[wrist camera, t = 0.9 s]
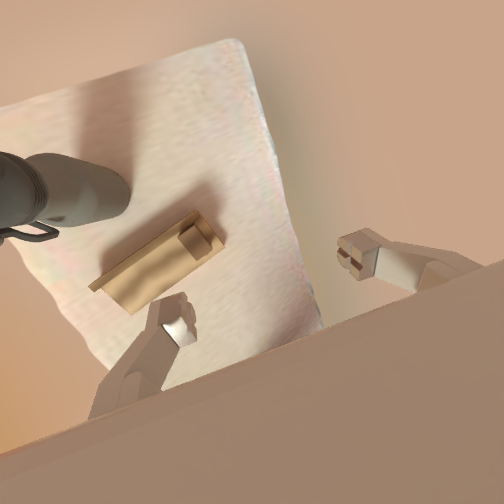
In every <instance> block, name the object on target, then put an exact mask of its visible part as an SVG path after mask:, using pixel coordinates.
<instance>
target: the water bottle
mask: <svg viewBox="0 0 504 504" xmlns="http://www.w3.org/2000/svg"><path fill="white" fill-rule="evenodd" d="M129 201H130V192H129V189H128V186H127V184H126V183H125V181H124V180H123V179H122V177H120V176H119V175H118V174H117V173H115V172H114V171H112V170H110V169H107V168H104V167H101V166H98V165H95V164H91V163H88V162H85V161H82V160H78V159H75V158H72V157H68V156H65V155H60V154H55V153H42V154H36V155H33V156H30V157H28V158H26V159H25V160H24V159H23V158H21V157H18V156H16V155H13V154H10V153H5V152H0V246H1V245H2V244H3V242H4V238H8V237H16V238H18V239H21V240H24V241H29V242H42V241H46V240H49V239H53V238H56V237H58V235H59V231H58V230H57V229H55V228H53V227H50V226H47V225H45V224H48V225H52V226H57V227H75V226H80V225H85V224H89V223H93V222H97V221H101V220H105V219H110V218H114V217H116V216H119V215H120V214H122V213H123V212H124V211H125V210H126V208H127V207H128V205H129ZM37 220H39V221H41V222H43V223H45V224H42V223H40V222H37ZM26 224H28V225H31V226H33V227H36V228H39V229H41V230H44V231H46V232H48V233H44V234H39V235H35V234H28V233H24V232H20V231H18V230H15V229H12V228H10V227H13V226H19V225H26Z"/></svg>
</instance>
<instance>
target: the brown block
mask: <svg viewBox="0 0 504 504" xmlns="http://www.w3.org/2000/svg"><path fill="white" fill-rule="evenodd" d="M177 238H178V240H179V241H180V242H181V243H182V244H183V246H184V247H185V248H186V249H187V250H188V252H189V253H190V254H191V255H192V256H193V258H194V259H195V260H196V261H198V260H199V259H201V258H202V257H204V256H205V255H208V253H209V252H210V251H212V250H213V248H212V245H211V243H210V242H209V241H208V239H207V238H206V237H205V235H204V234H203V233H202V232H201V230H200V229H199V228H198V226H197V225H196V224H195V223H194V224H192V225H191V226H190V227H188V228H187V229H185V230H184V231H183V232H181V233H180V234H179V236H178V237H177Z"/></svg>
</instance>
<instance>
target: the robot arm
mask: <svg viewBox="0 0 504 504" xmlns="http://www.w3.org/2000/svg"><path fill="white" fill-rule="evenodd" d="M338 245H339V246H340V248H339V250H338V251H337V257H338V260H339V262H340V264H341V265H342V266H343V267H344V268H347V269H350V274H351V275H352V276H353V277H354V278H355V279H357V280H358V281H361V280H364V279H367V278H370V277H373V276H374V277H376V278H378V279H381V280H383V281H386V282H388V283H391V284H393V285H396V286H398V287H401V288H403V289H406V290H408V291H411V292H413V293H415V294H413V295H410V296H408V297H405V298H403V299H400V300H398V301H395V302H392V303H390V304H387V305H385V306H382V307H380V308H377V309H374V310H372V311H369V312H367V313H364V314H362V315H359V316H356V317H354V318H352V319H349V320H346V321H344V322H341V323H338V324H336V325H334V326H331V327H328V328H325V329H323V330H320V331H318V332H315V333H312V334H310V335H307V336H305V337H302V338H300V339H297V340H294V341H292V342H289V343H287V344H284V345H282V346H279V347H276V348H274V349H271V350H269V351H266V352H263V353H261V354H258V355H256V356H253V357H250V358H248V359H245V360H243V361H240V362H238V363H235V364H232V365H230V366H227V367H225V368H222V369H219V370H217V371H214V372H212V373H209V374H206V375H204V376H201V377H199V378H196V379H194V380H191V381H188V382H186V383H183V384H181V385H178V386H176V387H173V388H170V389H168V390H165V391H162V390H161V387H162V385H163V383H164V381H165V379H166V376H167V374H168V372H169V370H170V368H171V366H172V364H173V362H174V360H175V358H176V356H177V354H178V352H179V348H181V347H184V346H186V345H189V344H191V343H194V342H196V341H197V329H196V327H195V326H194V324H195V322H196V315H195V311H194V308H193V306H192V304H191V303H189V302H187V296H186V294H185V293H184V292H180V293H177V294H174V295H171V296H168V297H165V298H162V299H159V300H156V301H153V302H151V304H150V307H149V312H148V317H147V322H146V327H145V331H142V332H141V333H140V334H139V336H138V337H137V338H136V339H135V341H134V342H133V343H132V344H131V346H130V347H129V348H128V349H127V351H126V352H125V353H124V354H123V356H122V357H121V358H120V359H119V361H118V362H117V363H116V364H115V366H114V367H113V368H112V369H111V370H110V372H109V373H108V374H107V375H106V377H105V378H104V379H103V381H102V382H101V383H100V384H99V387H98V390H97V393H96V396H95V399H94V402H93V405H92V409H91V411H90V414H89V417H88V420H87V421H85V422H83V423H80V424H78V425H75V426H73V427H70V428H67V429H65V430H62V431H60V432H57V433H55V434H52V435H49V436H46V437H44V438H41V439H39V440H36V441H34V442H31V443H29V444H26V445H23V446H21V447H18V448H16V449H13V450H10V451H8V452H5V453H2V454H0V504H504V259H503V260H501V261H498V262H496V263H493V264H491V265H488V266H485V267H484V266H482V265H480V264H478V263H476V262H474V261H472V260H470V259H468V258H466V257H464V256H462V255H460V254H458V253H456V252H452V251H446V250H441V249H435V248H429V247H424V246H418V245H412V244H406V243H400V242H390V241H388V240H387V239H385V238H384V237H382V236H380V235H379V234H377V233H375V232H374V231H372V230H370V229H368V228H364V229H362V230H359V231H357V232H354V233H351V234H349V235H346V236H343V237H340V238H339V239H338Z"/></svg>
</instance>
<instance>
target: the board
mask: <svg viewBox="0 0 504 504" xmlns="http://www.w3.org/2000/svg"><path fill="white" fill-rule="evenodd" d="M194 223H195V224H196V225H197V226H198V228H199V229H200V230H201V232H202V233H203V234H204V235H205V237H206V238H207V239H208V241H209V242H210V243H211V245H212V248H213V250H212V251H210V252H209V253H208V255H205V256H204V257H202V258H201V259H199V260H198V261H196V260H195V259H194V258H193V256H192V255H191V254H190V253H189V252H188V250H187V249H186V248H185V247H184V246H183V244H182V243H181V242H180V241H179V240H178V238H177V237H178V236H179V234H180V233H181V232H183V231H184V230H185V229H187V228H188V227H190V226H191V225H192V224H194ZM224 248H225V247H224V245H223V244H222V242H221V241H220V240H219V238H218V237H217V236H216V234H215V233H214V232H213V230H212V229H211V228H210V226H209V225H208V224H207V222H206V221H205V220H204V218H203V217H202V216H201V214H200V213H199V212H198V211H197V210H195V211H193V212H192V213H190V214H189V215H188V216H186V217H185V218H183V219H182V220H180V221H179V222H178V223H176V224H175V225H173V226H172V227H171V228H169V229H168V230H166V231H165V232H163V233H162V234H161V235H159V236H158V237H156V238H155V239H154V240H152V241H151V242H149V243H148V244H146V245H145V246H144V247H142V248H141V249H139V250H138V251H137V252H135V253H134V254H132V255H131V256H129V257H128V258H127V259H125V260H124V261H122V262H121V263H120V264H118V265H117V266H115V267H114V268H112V269H111V270H110V271H108V272H107V273H105V274H104V275H102V276H101V277H100V278H98V279H97V280H95V281H94V282H93V283H91V284H90V285H89V286H88V287H89V288H90V289H91V290H92V291H93V292H95V291H97V290H98V289H99V288H101V289H102V290H103V291H104V292H105V293H107V294H108V295H109V296H110V297H111V298H112V299H113V300H114V301H115V302H117V303H118V304H119V305H120V306H121V307H122V308H123V309H124V310H125V311H127V312H128V313H129V314H130V315H131V316H132V315H133V314H134V313H136V312H137V311H138V310H140V309H141V308H143V307H144V306H145V305H147V304H148V303H150V302H151V301H152V300H154V299H155V298H156V297H158V296H159V295H161V294H162V293H163V292H165V291H166V290H168V289H169V288H170V287H172V286H173V285H174V284H176V283H177V282H179V281H180V280H181V279H183V278H184V277H186V276H187V275H188V274H190V273H191V272H192V271H194V270H195V269H197V268H198V267H199V266H201V265H202V264H204V263H205V262H206V261H208V260H209V259H211V258H212V257H213V256H215V255H216V254H217V253H219V252H220V251H222V250H223V249H224Z"/></svg>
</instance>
